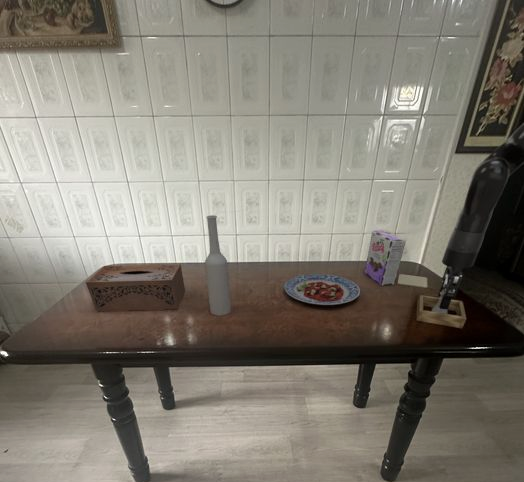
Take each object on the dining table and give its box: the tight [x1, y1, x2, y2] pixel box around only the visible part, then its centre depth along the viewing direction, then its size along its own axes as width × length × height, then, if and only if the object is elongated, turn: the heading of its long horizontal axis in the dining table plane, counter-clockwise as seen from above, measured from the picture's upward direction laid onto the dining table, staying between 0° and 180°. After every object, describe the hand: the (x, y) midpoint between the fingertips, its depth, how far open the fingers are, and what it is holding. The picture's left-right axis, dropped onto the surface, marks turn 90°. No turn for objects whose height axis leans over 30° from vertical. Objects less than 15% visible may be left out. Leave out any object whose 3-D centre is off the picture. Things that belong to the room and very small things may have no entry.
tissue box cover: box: [85, 263, 186, 312], centre depth 99 cm, size 26×14×10 cm, turn 92°
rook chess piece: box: [431, 289, 452, 314], centre depth 89 cm, size 4×4×8 cm
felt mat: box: [397, 273, 428, 289], centre depth 114 cm, size 10×10×1 cm
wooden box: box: [415, 294, 467, 329], centre depth 91 cm, size 12×12×3 cm
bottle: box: [204, 214, 232, 316], centre depth 88 cm, size 7×7×28 cm
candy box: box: [363, 229, 407, 286], centre depth 111 cm, size 14×6×16 cm, turn 10°
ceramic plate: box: [284, 273, 361, 306], centre depth 105 cm, size 26×26×3 cm
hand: (442, 302), depth 89 cm, fingers open, 8 cm apart
